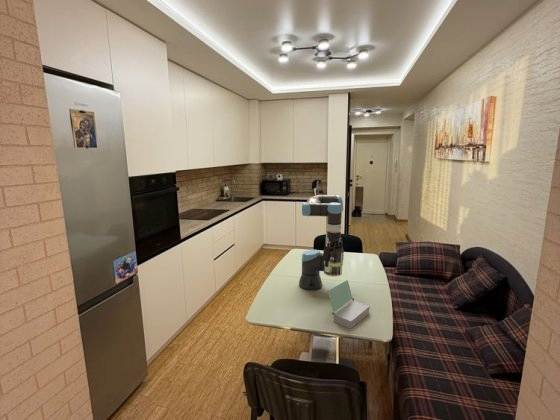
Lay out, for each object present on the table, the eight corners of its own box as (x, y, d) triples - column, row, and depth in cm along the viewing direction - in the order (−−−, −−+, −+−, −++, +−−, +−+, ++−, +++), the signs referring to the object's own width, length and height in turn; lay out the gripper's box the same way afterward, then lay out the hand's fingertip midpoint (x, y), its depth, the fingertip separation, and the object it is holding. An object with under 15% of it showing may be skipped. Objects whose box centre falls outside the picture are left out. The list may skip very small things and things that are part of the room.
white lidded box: (332, 321, 157) (332, 312, 156) (352, 306, 173) (352, 298, 172) (350, 329, 150) (350, 320, 149) (369, 312, 166) (370, 304, 165)
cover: (334, 311, 157) (332, 311, 158) (352, 298, 170) (350, 298, 171) (329, 291, 157) (327, 291, 158) (347, 280, 171) (345, 280, 172)
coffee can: (334, 278, 164) (335, 253, 162) (320, 272, 172) (320, 249, 169) (345, 273, 171) (346, 249, 168) (331, 267, 179) (332, 245, 176)
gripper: (327, 236, 156) (326, 277, 161) (351, 228, 172) (349, 265, 176) (315, 233, 161) (315, 273, 166) (339, 226, 177) (338, 262, 182)
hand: (333, 269), depth 171 cm, fingers closed on coffee can, 10 cm apart
